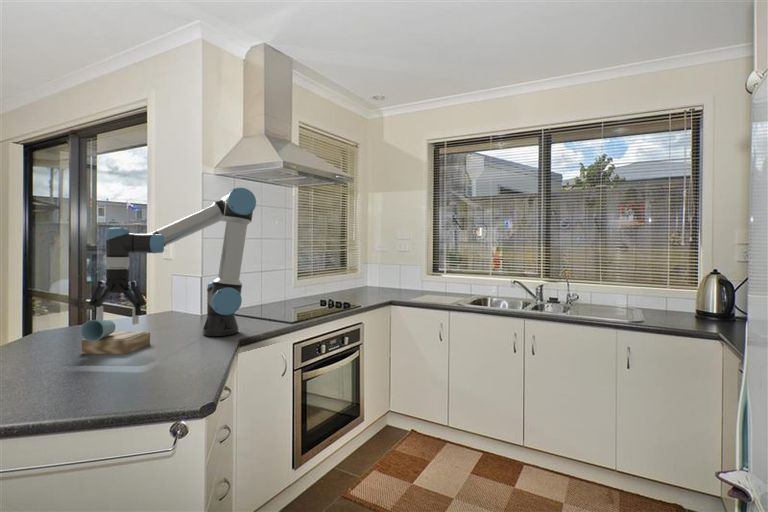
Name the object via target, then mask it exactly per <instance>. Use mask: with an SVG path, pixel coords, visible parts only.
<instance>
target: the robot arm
mask: <svg viewBox="0 0 768 512" xmlns="http://www.w3.org/2000/svg"><path fill="white" fill-rule="evenodd" d="M256 207H257V199H256V196H255V194H254V193H253V191H251V190H250V189H248V188H246V187H235V188H233V189H231V190H230V191H229V192H227V194H226V195H224V196H223V197H221V198H219V200H216V201H214V202H213V203H212V205H210V206H208V207H206V208H203V209H201V210H199V211H197V212H194V213H193V214H190V215H188V216H186V217H183V218H181V219H178V220H176V221H174V222H173V223H170V224H168V225H164V226H163V227H161V228H158V229H156V230H154V231H152V232H149V233H131V232H130V229H129V228H125V227H109V228H107V230H106V236H105V238H106V239H105V267H106V270H105V278H106V281H105V280H98V281H97V285H96V288H95V290H94V292H93V294H92V297H91V298H90V300H89V303H88V304H89V306H93V307H94V315H95V316H96V320H104V306H103V304H104V302H105V301H106V300H107V299H108V298H109V297H110V296H111V294H115V293H117V294H123V295H124V296H126V297H125V298H127V299H128V300H129V302H130V303H131V304H132V305H133V307H132V308H131V309H132V310H131V311H132V318H131V319H132V325H137V324H139V323H140V322H139V318H140V316H141V312H142V311H141V310H142V309H141V307H143V306H145V305H146V304H147V301H146V300H145V298H144V296H143V293H142V292H141V289H140V288H139V285H138V284H139V283H138V281H137V280H132V281H130V280H129V278H130V269H129V267H130V254H131V253H132V254H162V253H164V251H165V247H167V246H168V245H171V244H173V243H175V242H177V241H180V240H182V239H184V238H187V237H188V236H190V235H193V234H195V233H197V232H199V231H201V230H204V229H206V228H208V227H210V226H213V225H215V224H217V223H220V222H224V223H225V227H224V235H223V242H222V249H221V254H220V262H219V268H218V276H217V278H216V279H213V281H212V282H209V283H208V284H207V288H206V291H207V292H206V293H207V295H206V297H207V299H206V301H207V303H206V305H207V306H206V309H207V311H206V312H207V313H206V318H205V322H204V325H203V328H202V335H203V336H209V337H210V336H211V337H224V336H232V335H235V334H234V333H236V332H238V331H239V325H238V321H237V318H236V315H235V313H237V311H238V310H239V309H240V307H241V306H242V301H243V300H242V299H243V298H242V288H243V283H242V282H241V280H240V277H241V270H242V264H243V255H244V249H245V243H246V236H247V230H248V225H249V224H250V223H252V220H253V212H254V211H255V208H256ZM105 287H106V289H105ZM129 287H130V288H131V289H130V288H129ZM104 289H105V290H104ZM131 290H132V291H131ZM103 291H104V292H103ZM238 333H239V332H238ZM231 334H232V335H231ZM236 334H237V333H236Z"/></svg>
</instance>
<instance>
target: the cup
mask: <svg viewBox="0 0 768 512" xmlns="http://www.w3.org/2000/svg"><path fill="white" fill-rule="evenodd" d="M80 328H81V329H80V334H81V337H82V338H83V339H85V340H87V341H97V340H99V339H101V338H103V337H105V336H107V335H109V334H111V333H113V332H114V331H116V323H115V322H114V321H112V320H109V319H103V320H97V319H90V320H87V321H86V322H84V323H83V325H82V326H81V327H80Z"/></svg>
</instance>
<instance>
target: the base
mask: <svg viewBox="0 0 768 512" xmlns="http://www.w3.org/2000/svg"><path fill="white" fill-rule="evenodd" d="M149 345H151V331H117V330H114V332H113V333H111V334H109V335H107V336H105V337H103V338H101V339H99V340H97V341H87V340H85V339H84V338H83V339H81V354H82V355H83V354H84V355H85V354H87V355H88V354H89V355H90V354H91V355H127V354H129V353H132V352H134V351H137V350H140V349H141V348H144V347H147V346H149Z"/></svg>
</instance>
